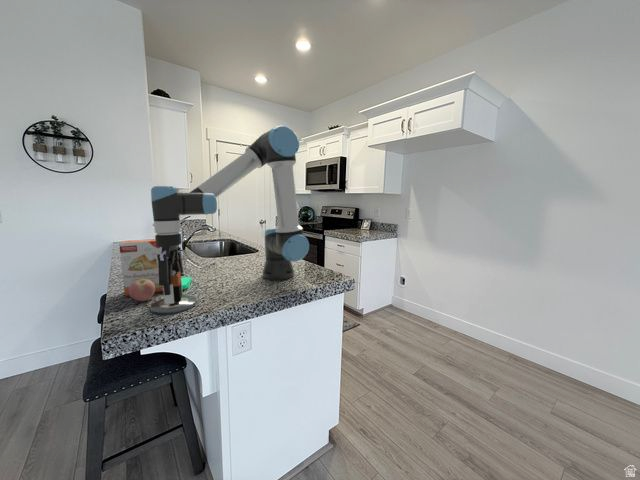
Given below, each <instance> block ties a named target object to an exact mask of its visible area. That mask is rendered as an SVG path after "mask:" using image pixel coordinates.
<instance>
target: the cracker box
mask: <svg viewBox="0 0 640 480" xmlns="http://www.w3.org/2000/svg"><path fill="white" fill-rule="evenodd" d="M118 245H119V255H120V264H121V273H122V283H123V291H124V297H128V296H130V294H129V287H130V285H131V284H132V283H133V282H134V281H136V280H139V279H149V280H151V281H152V282H153V283H154V285H155V292H154V293H161V292H163V285H162V286H160V285H159V268H158V258H157V255H158V254H161V252H162V247H161V246H157V245H156V240H155V238H154V239H135V240H133V239H132V240H122V241H121V242H119V243H118Z"/></svg>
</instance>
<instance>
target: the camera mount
mask: <svg viewBox="0 0 640 480" xmlns="http://www.w3.org/2000/svg"><path fill="white" fill-rule="evenodd" d="M181 280H182V290H185V289H189V288H190V286H191V282H192V277H191V276H187V277H184V276H183V277H181Z"/></svg>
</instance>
